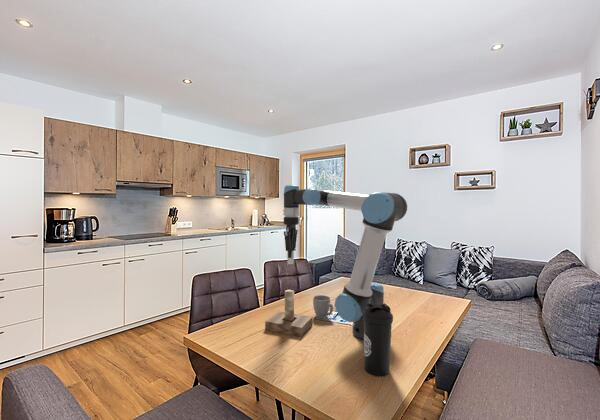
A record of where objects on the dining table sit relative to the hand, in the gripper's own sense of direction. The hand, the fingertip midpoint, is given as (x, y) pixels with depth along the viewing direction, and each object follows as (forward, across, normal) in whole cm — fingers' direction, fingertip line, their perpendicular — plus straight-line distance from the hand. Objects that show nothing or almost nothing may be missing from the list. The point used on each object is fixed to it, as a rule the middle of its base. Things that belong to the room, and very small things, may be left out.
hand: (290, 263), depth 150 cm
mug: (+28, -10, +14) cm, 34 cm away
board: (+28, +8, +3) cm, 30 cm away
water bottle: (+29, +30, +46) cm, 62 cm away
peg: (+27, +8, +3) cm, 28 cm away
